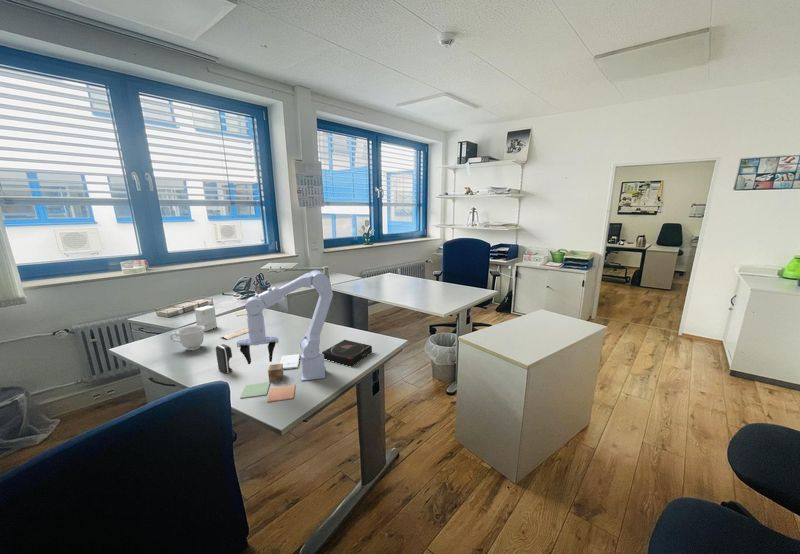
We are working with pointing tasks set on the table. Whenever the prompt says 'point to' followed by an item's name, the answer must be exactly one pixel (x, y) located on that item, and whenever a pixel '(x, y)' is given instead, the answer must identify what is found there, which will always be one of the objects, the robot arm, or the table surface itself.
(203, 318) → the small box
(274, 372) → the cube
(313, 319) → the robot arm
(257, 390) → the mat
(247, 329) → the wooden plank
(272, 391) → the mat
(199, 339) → the teacup
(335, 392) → the table surface
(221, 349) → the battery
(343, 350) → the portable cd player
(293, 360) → the external hard drive
